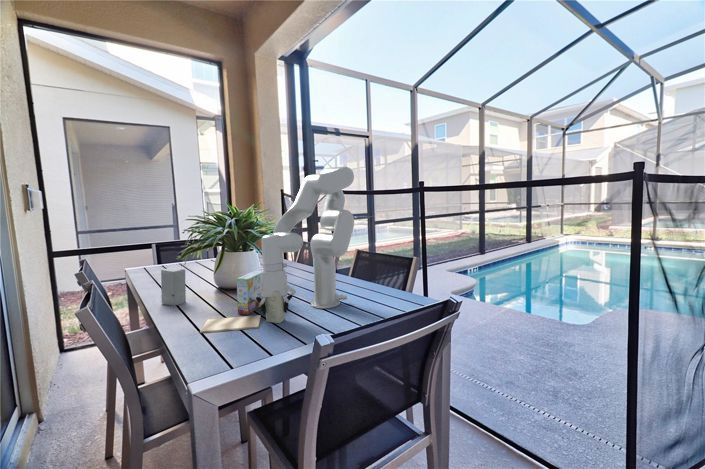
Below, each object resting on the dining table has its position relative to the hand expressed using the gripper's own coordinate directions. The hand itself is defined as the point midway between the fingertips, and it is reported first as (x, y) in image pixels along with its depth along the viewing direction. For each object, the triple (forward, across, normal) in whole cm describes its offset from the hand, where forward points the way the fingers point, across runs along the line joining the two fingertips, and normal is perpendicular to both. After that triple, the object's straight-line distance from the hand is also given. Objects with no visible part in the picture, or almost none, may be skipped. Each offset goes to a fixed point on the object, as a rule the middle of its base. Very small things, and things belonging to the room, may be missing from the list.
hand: (275, 312), depth 132 cm
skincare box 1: (+4, +46, -34) cm, 57 cm away
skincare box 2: (+4, 0, 0) cm, 4 cm away
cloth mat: (+3, +16, 0) cm, 16 cm away
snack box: (+4, +9, -20) cm, 22 cm away
